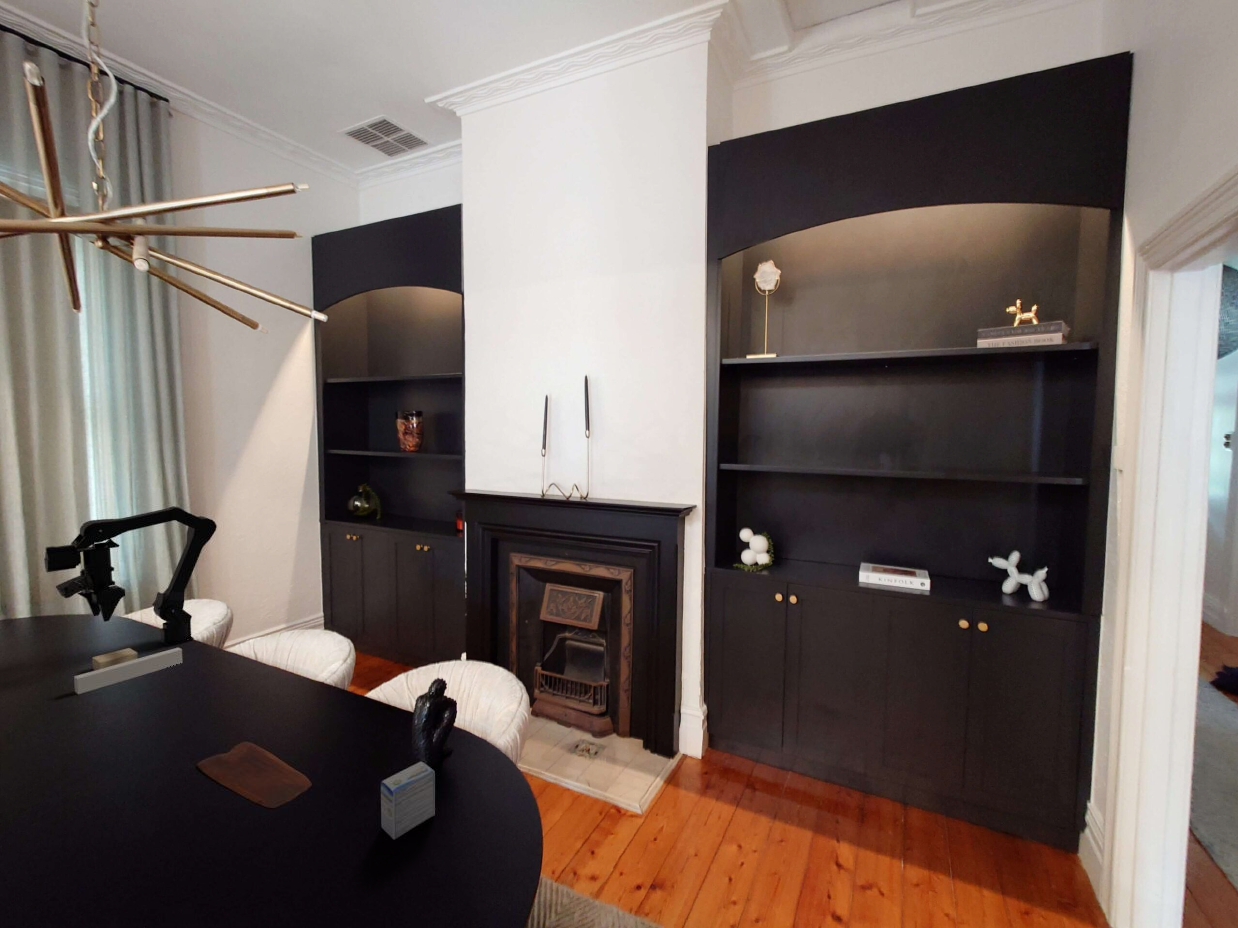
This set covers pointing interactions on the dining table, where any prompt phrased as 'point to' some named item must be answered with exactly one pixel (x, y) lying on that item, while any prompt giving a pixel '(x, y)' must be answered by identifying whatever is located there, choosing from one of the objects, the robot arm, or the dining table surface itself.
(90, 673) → the fence bar
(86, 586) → the robot arm
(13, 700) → the dining table surface
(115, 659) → the maple block
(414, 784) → the medicine box
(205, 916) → the dining table surface
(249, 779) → the wooden tablet
